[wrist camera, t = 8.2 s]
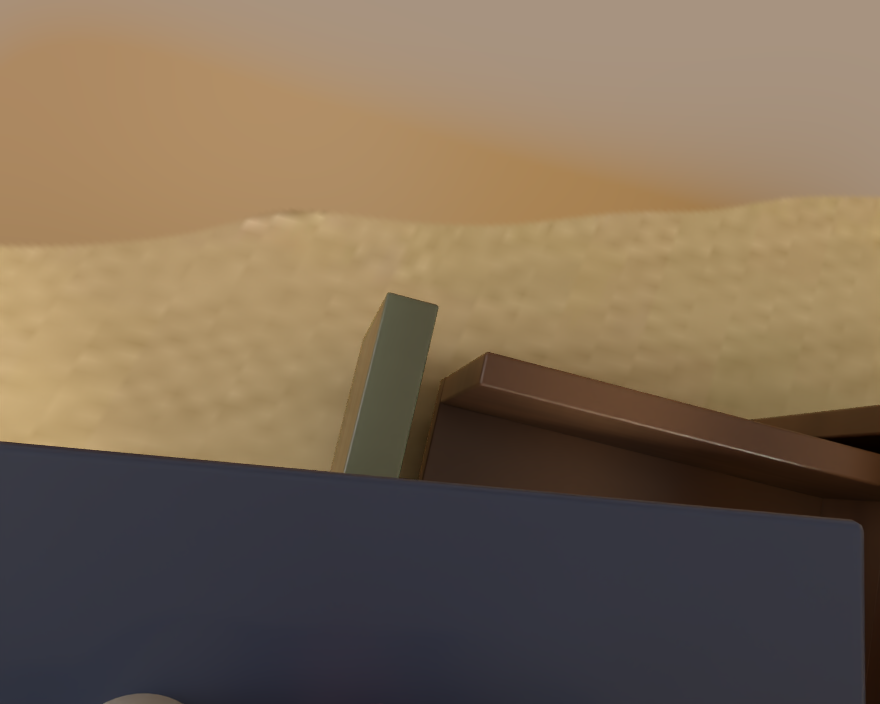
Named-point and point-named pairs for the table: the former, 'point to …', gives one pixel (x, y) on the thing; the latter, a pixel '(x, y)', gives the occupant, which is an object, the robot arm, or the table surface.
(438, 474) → the drawer
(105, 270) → the table surface
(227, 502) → the straw box
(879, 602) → the cabinet
